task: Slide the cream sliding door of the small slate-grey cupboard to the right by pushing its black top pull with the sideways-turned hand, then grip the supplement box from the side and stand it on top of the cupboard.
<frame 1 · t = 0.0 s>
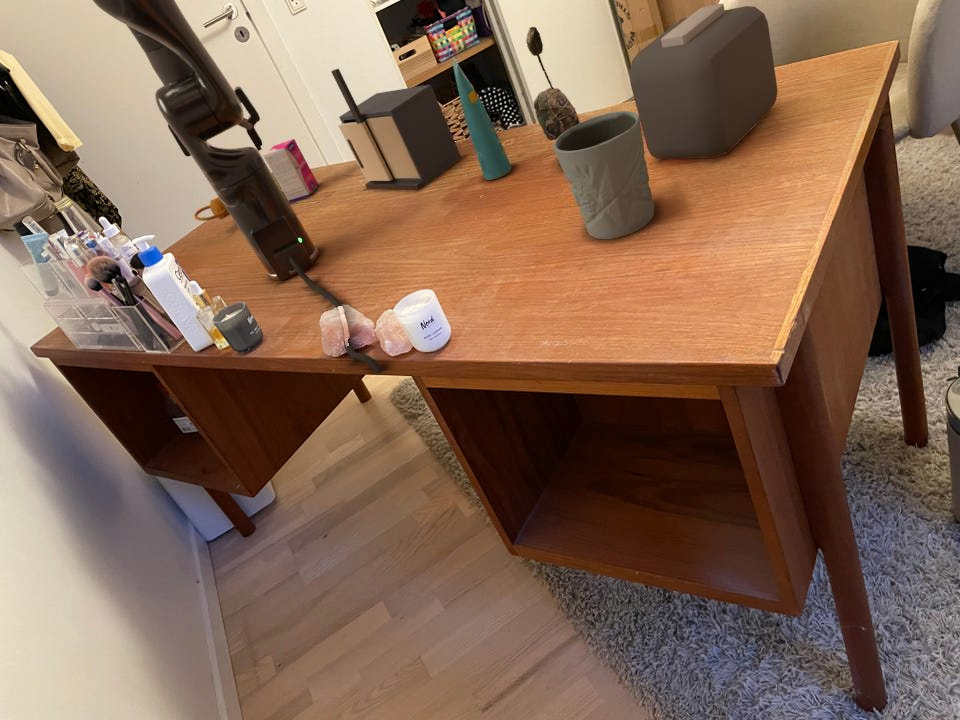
hand: (238, 160, 121), 17 cm above the table, tool pointing down, fingers open, 8 cm apart
grey embossed cup: (622, 221, 86), on the table
teal cone: (499, 174, 116), on the table
supplement box: (305, 194, 153), on the table
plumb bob: (256, 213, 157), on the table
closet: (416, 171, 134), on the table
alarm clock: (719, 137, 94), on the table
plant with pod: (578, 159, 107), on the table
door: (353, 128, 129), point 12 cm above the table, slide at 0.0 cm
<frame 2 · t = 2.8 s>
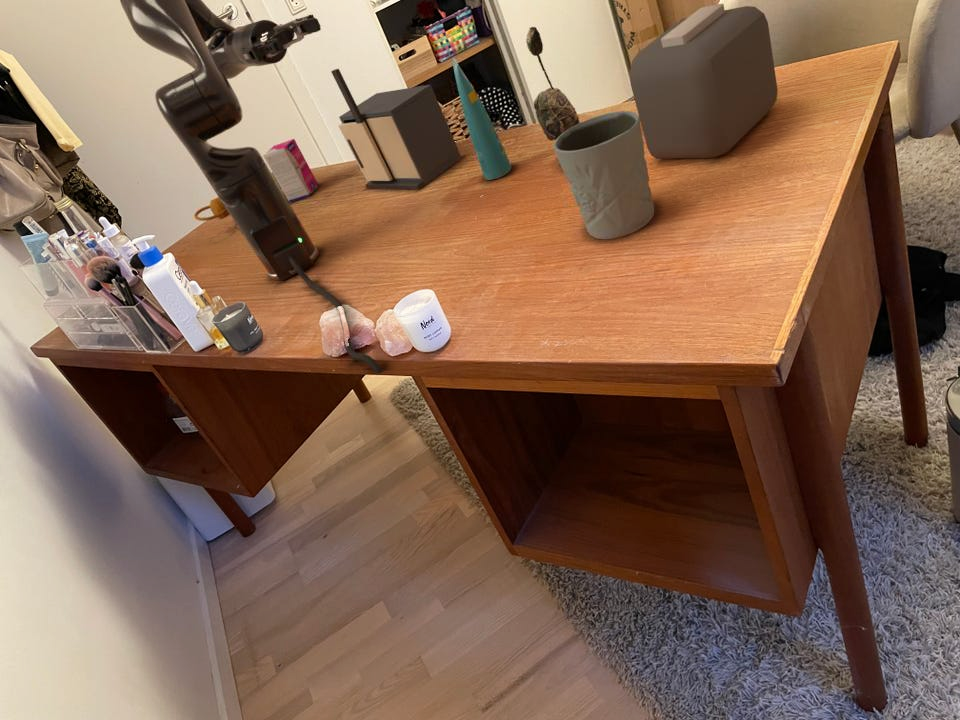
hand: (298, 34, 120), 30 cm above the table, tool horizontal, fingers open, 8 cm apart
nothing on the table moved.
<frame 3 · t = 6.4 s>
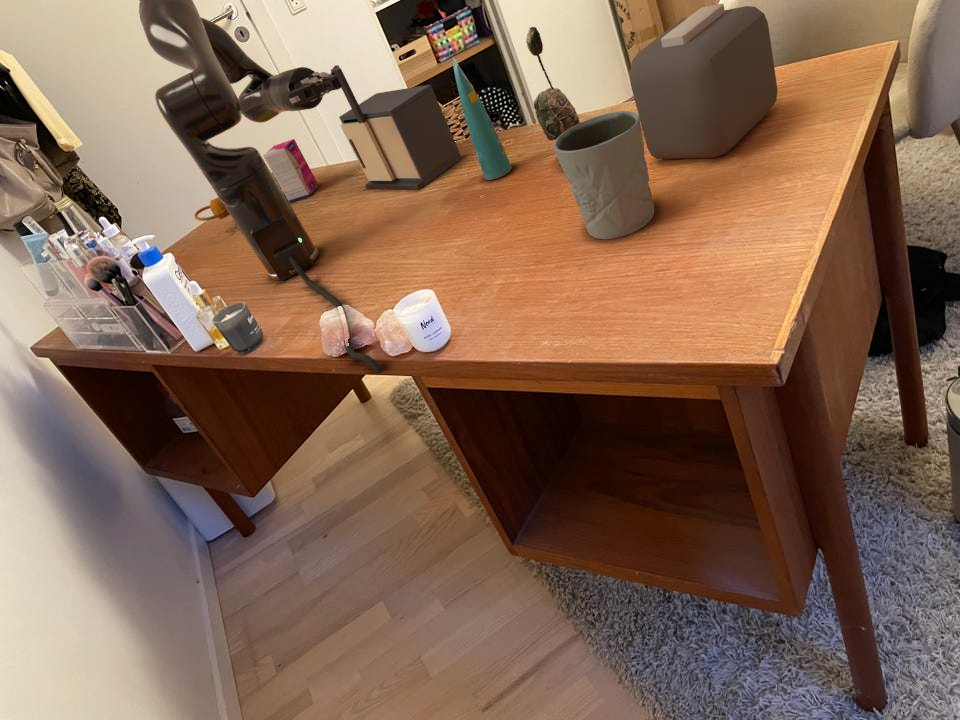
hand: (339, 81, 121), 21 cm above the table, tool horizontal, fingers closed
door: (355, 128, 128), point 12 cm above the table, slide at 0.7 cm, touching gripper
everything else where it was.
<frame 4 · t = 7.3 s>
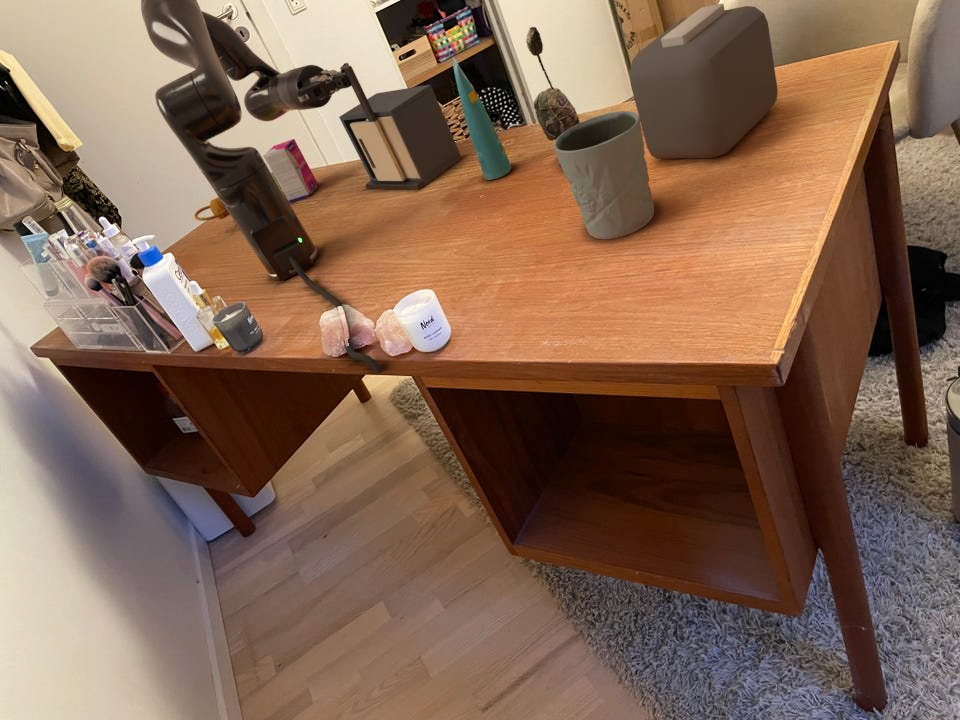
hand: (350, 79, 119), 21 cm above the table, tool horizontal, fingers closed
door: (365, 127, 125), point 12 cm above the table, slide at 4.3 cm, touching gripper
everything else where it was.
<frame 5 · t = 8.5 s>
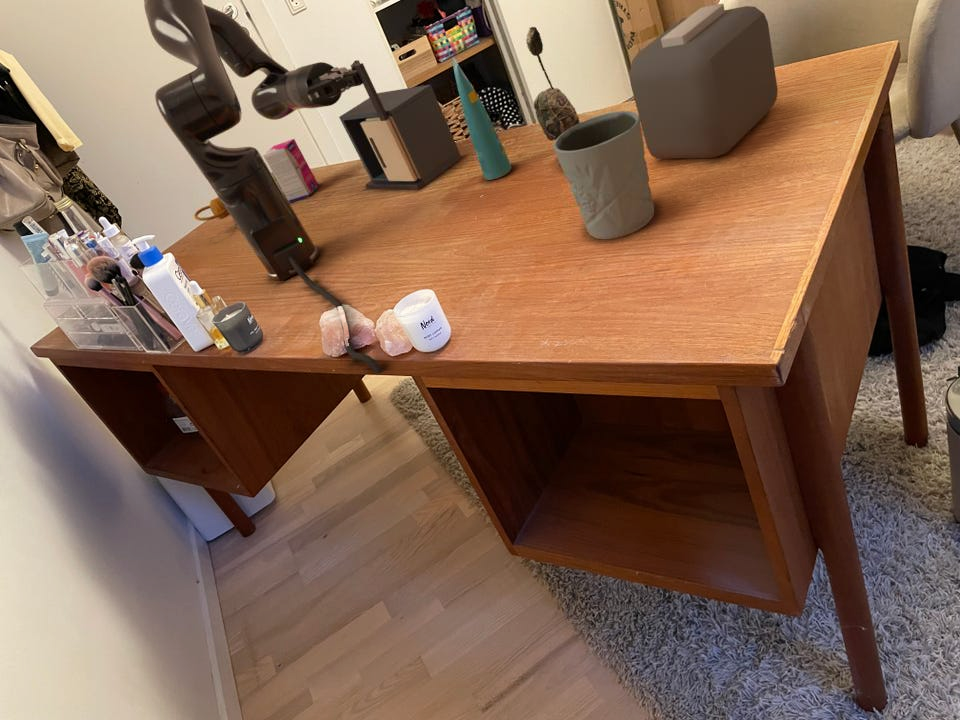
hand: (361, 76, 116), 21 cm above the table, tool horizontal, fingers closed
door: (376, 126, 123), point 12 cm above the table, slide at 8.1 cm, touching gripper
everything else where it was.
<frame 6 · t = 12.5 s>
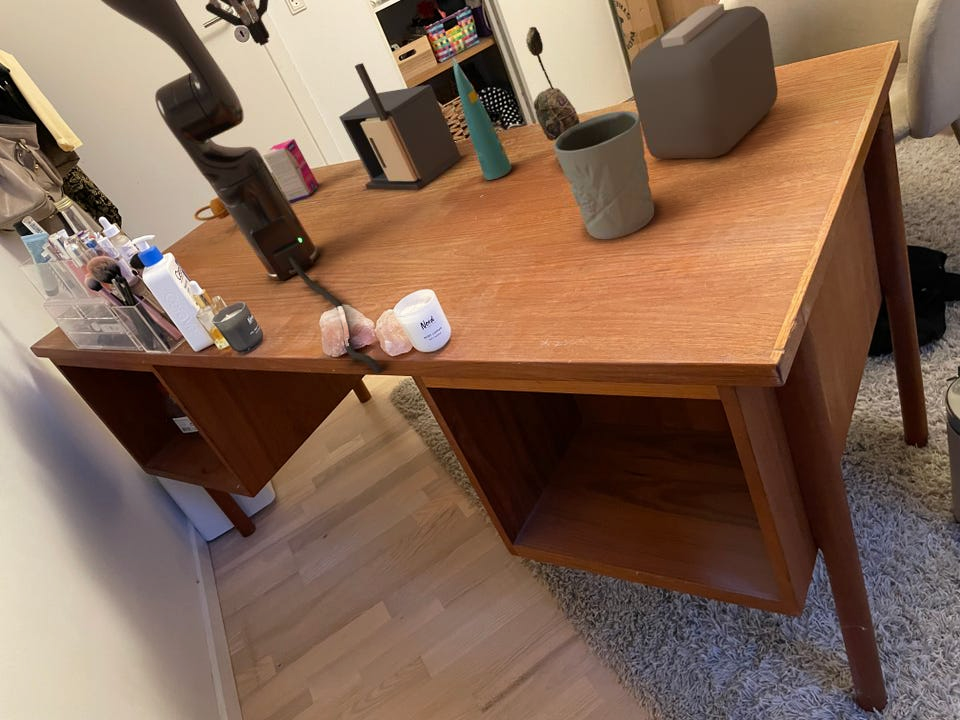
hand: (265, 43, 125), 31 cm above the table, tool pointing down, fingers closed
door: (376, 126, 123), point 12 cm above the table, slide at 8.1 cm
everything else where it was.
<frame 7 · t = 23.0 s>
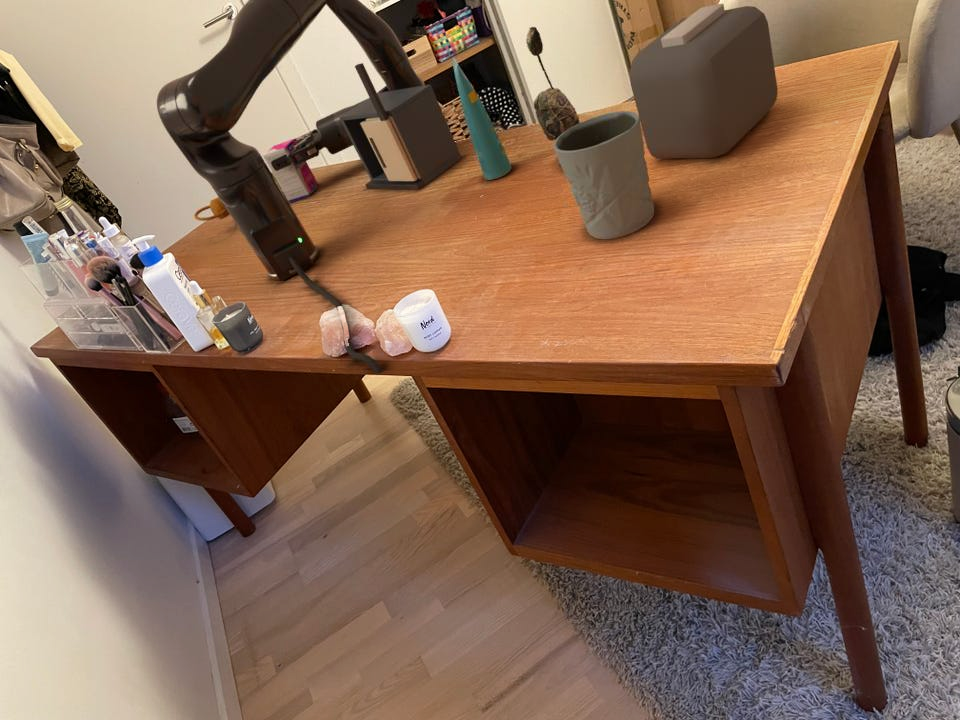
hand: (275, 161, 148), 9 cm above the table, tool horizontal, fingers closed on supplement box, 7 cm apart
supplement box: (305, 194, 153), on the table, touching gripper
everything else where it was.
when the fingers open (23 cm above the table, at t = 34.4 s): supplement box stays where it is, resting on closet.
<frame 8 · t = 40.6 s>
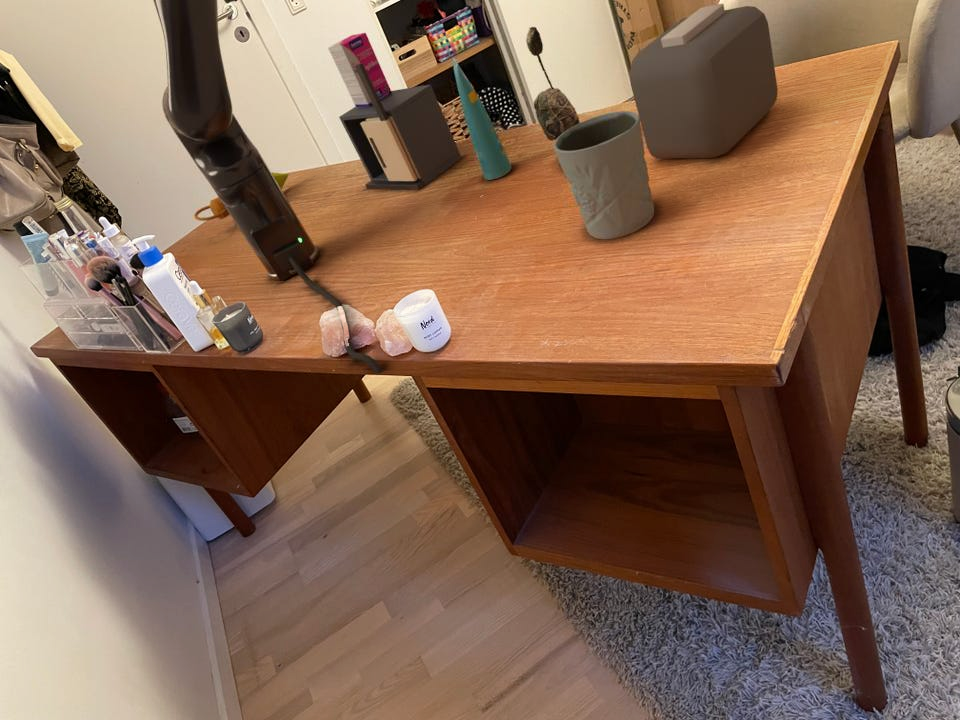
supplement box: (374, 101, 130), point 14 cm above the table, touching closet
everything else where it was.
at the end: door slide at 8.1 cm; supplement box 0.1 cm from the target spot on the closet, point 14.2 cm above the closet's base; supplement box tilted 0° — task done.
